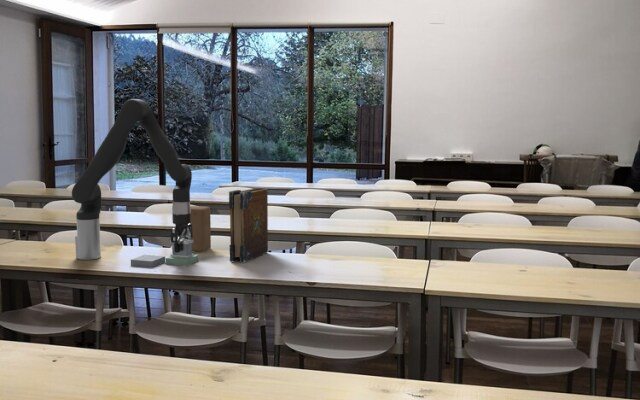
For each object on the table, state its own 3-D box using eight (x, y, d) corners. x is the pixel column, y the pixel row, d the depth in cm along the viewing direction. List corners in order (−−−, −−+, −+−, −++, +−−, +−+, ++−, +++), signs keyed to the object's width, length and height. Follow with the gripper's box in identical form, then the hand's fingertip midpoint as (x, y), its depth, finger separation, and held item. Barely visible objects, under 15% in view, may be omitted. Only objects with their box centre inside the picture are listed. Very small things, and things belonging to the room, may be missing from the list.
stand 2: (165, 264, 250) (165, 258, 249) (177, 259, 259) (177, 253, 259) (187, 265, 247) (187, 259, 247) (198, 260, 257) (198, 254, 256)
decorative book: (244, 263, 253) (243, 192, 249) (229, 261, 256) (228, 191, 252) (270, 252, 274) (270, 187, 271) (256, 251, 277) (256, 186, 274)
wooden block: (203, 252, 273) (202, 209, 270) (182, 251, 275) (182, 208, 272) (211, 248, 283) (211, 206, 280) (191, 247, 285) (191, 205, 282)
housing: (170, 257, 252) (170, 240, 251) (176, 254, 256) (176, 238, 256) (187, 258, 249) (187, 241, 249) (193, 255, 254) (193, 239, 253)
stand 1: (130, 265, 246) (130, 259, 246) (144, 260, 256) (144, 254, 256) (152, 267, 244) (152, 261, 243) (165, 262, 253) (165, 256, 253)
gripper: (181, 209, 258) (182, 246, 260) (164, 214, 245) (165, 253, 247) (197, 210, 256) (198, 247, 258) (181, 215, 243) (181, 254, 245)
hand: (182, 250), depth 253 cm, fingers open, 8 cm apart
